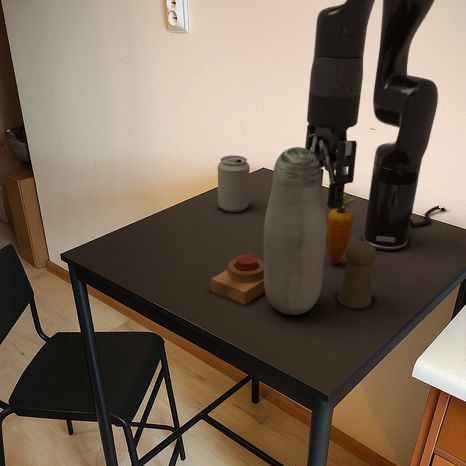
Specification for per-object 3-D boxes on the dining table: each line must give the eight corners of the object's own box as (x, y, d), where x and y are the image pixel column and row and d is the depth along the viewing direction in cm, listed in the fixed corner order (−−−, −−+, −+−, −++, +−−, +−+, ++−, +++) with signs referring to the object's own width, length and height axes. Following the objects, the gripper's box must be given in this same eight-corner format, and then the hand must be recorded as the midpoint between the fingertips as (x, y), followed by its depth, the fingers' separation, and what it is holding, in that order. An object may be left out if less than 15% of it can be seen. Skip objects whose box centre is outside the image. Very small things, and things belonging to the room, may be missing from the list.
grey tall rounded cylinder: (328, 319, 102) (342, 156, 86) (271, 327, 100) (275, 162, 84) (309, 291, 110) (320, 138, 94) (256, 298, 108) (257, 143, 92)
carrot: (332, 256, 122) (340, 186, 114) (352, 264, 119) (361, 192, 111) (317, 264, 119) (324, 192, 111) (337, 272, 117) (345, 199, 108)
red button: (231, 268, 109) (231, 259, 108) (244, 260, 112) (244, 252, 111) (248, 274, 107) (248, 265, 106) (261, 266, 110) (261, 258, 109)
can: (249, 213, 141) (249, 163, 134) (217, 213, 141) (217, 163, 134) (248, 202, 147) (249, 153, 140) (218, 201, 147) (218, 153, 140)
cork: (371, 309, 105) (379, 253, 99) (336, 306, 106) (343, 250, 100) (371, 293, 110) (379, 238, 104) (338, 290, 111) (345, 235, 105)
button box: (211, 291, 110) (210, 269, 108) (247, 270, 117) (247, 249, 115) (245, 305, 106) (245, 283, 104) (280, 282, 113) (281, 260, 111)
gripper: (380, 97, 81) (364, 212, 89) (339, 83, 93) (329, 185, 101) (329, 98, 79) (318, 215, 88) (294, 83, 91) (287, 188, 100)
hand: (324, 199), depth 94 cm, fingers open, 8 cm apart
